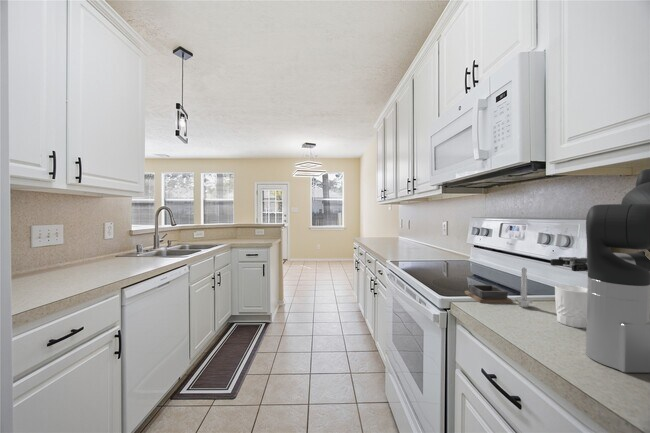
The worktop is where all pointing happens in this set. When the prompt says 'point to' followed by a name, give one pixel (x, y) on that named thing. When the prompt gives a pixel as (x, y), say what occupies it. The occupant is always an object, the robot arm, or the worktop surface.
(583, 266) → the robot arm
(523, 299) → the screw
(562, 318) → the white cup
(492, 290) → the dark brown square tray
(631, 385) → the worktop surface
